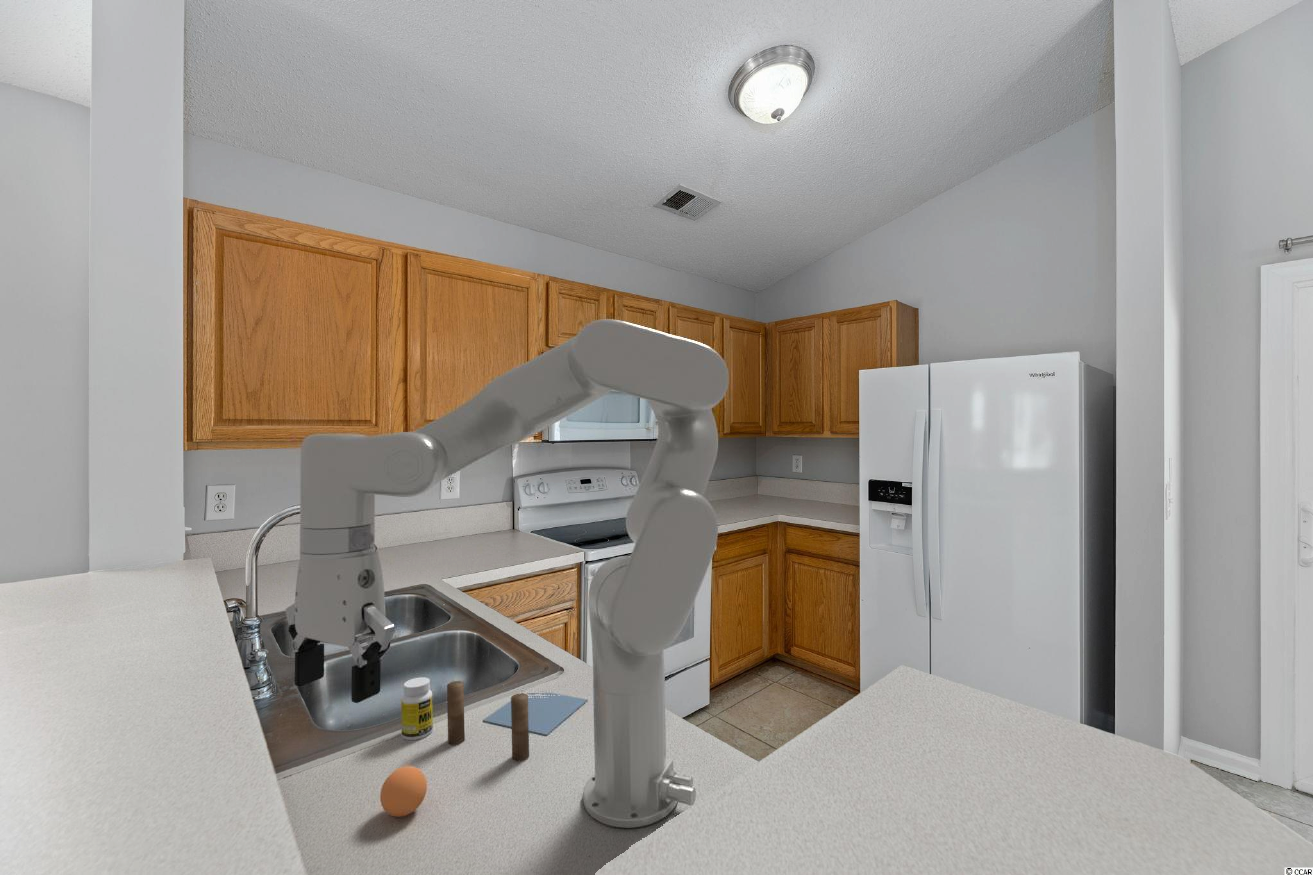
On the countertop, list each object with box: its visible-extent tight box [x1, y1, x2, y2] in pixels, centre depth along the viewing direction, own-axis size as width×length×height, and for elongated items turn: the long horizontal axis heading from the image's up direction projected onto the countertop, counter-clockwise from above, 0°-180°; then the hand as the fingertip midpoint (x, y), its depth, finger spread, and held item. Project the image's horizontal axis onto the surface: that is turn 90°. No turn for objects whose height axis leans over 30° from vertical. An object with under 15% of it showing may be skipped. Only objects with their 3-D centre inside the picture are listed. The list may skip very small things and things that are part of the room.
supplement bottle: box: [400, 676, 434, 741], centre depth 92 cm, size 5×5×8 cm
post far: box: [446, 680, 466, 746], centre depth 89 cm, size 2×2×9 cm
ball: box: [379, 765, 428, 818], centre depth 72 cm, size 6×6×6 cm
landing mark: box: [482, 690, 589, 736], centre depth 99 cm, size 13×13×1 cm
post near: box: [510, 692, 530, 763], centre depth 85 cm, size 2×2×9 cm
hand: (337, 689), depth 64 cm, fingers open, 9 cm apart
